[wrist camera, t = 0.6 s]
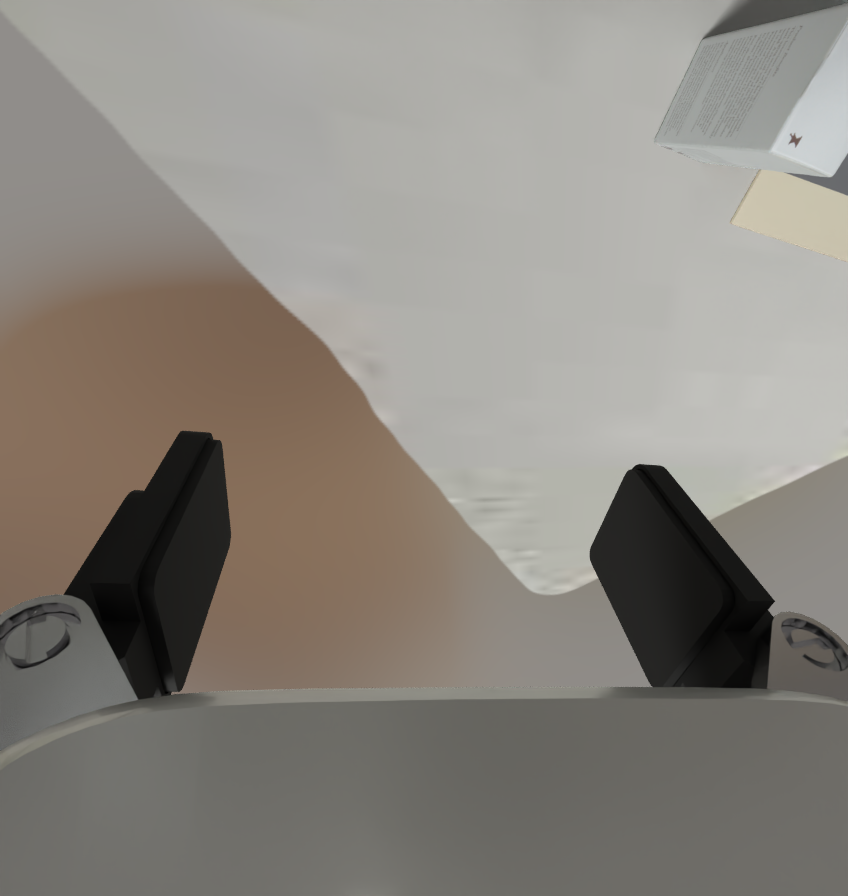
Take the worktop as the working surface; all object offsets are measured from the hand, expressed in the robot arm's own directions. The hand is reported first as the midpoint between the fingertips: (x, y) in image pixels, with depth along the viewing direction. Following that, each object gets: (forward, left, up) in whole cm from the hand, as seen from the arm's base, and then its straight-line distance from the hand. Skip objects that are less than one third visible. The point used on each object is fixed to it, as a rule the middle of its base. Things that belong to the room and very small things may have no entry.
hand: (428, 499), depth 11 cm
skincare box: (-13, +18, -30) cm, 37 cm away
